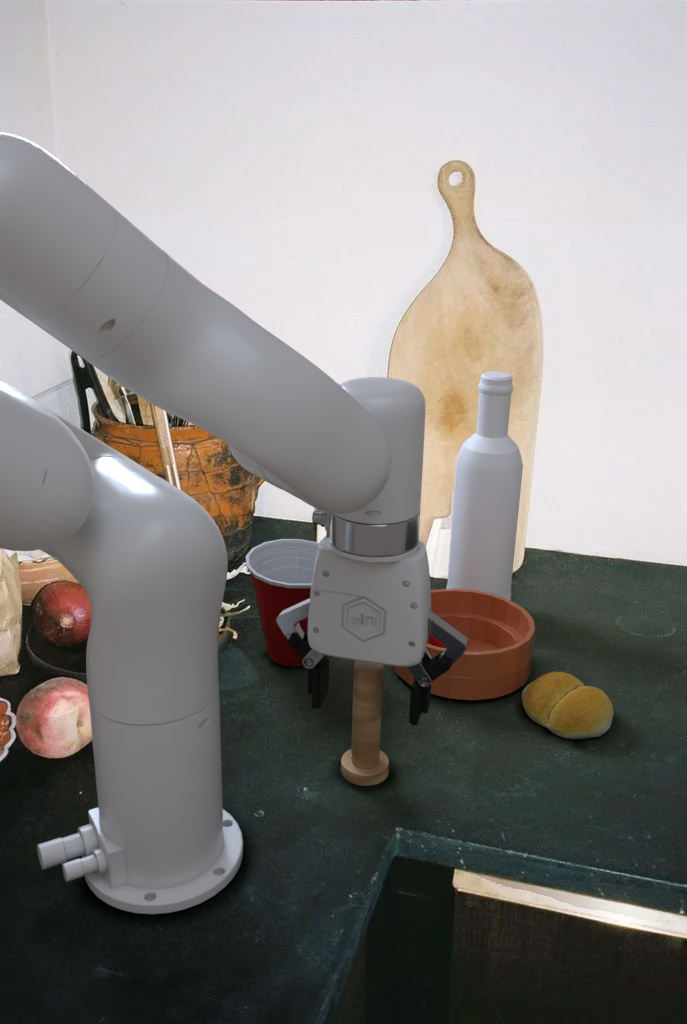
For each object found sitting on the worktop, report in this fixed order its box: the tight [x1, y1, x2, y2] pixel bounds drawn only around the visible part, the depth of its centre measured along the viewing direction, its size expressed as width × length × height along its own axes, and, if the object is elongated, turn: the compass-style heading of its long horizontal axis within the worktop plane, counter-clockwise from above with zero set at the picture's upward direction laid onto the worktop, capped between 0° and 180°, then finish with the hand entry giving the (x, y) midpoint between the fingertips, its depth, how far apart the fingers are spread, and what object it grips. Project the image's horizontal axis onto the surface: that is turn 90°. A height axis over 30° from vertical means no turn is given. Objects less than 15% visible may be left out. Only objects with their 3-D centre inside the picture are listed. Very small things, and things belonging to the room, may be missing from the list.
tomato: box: [429, 634, 446, 648], centre depth 106 cm, size 3×3×3 cm
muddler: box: [340, 660, 390, 787], centre depth 84 cm, size 4×4×11 cm
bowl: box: [392, 588, 536, 701], centre depth 103 cm, size 15×15×6 cm
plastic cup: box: [245, 538, 319, 667], centre depth 104 cm, size 11×11×12 cm
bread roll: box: [521, 671, 615, 740], centre depth 95 cm, size 8×9×4 cm
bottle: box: [445, 371, 524, 601], centre depth 111 cm, size 8×8×30 cm
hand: (367, 708), depth 84 cm, fingers open, 8 cm apart
